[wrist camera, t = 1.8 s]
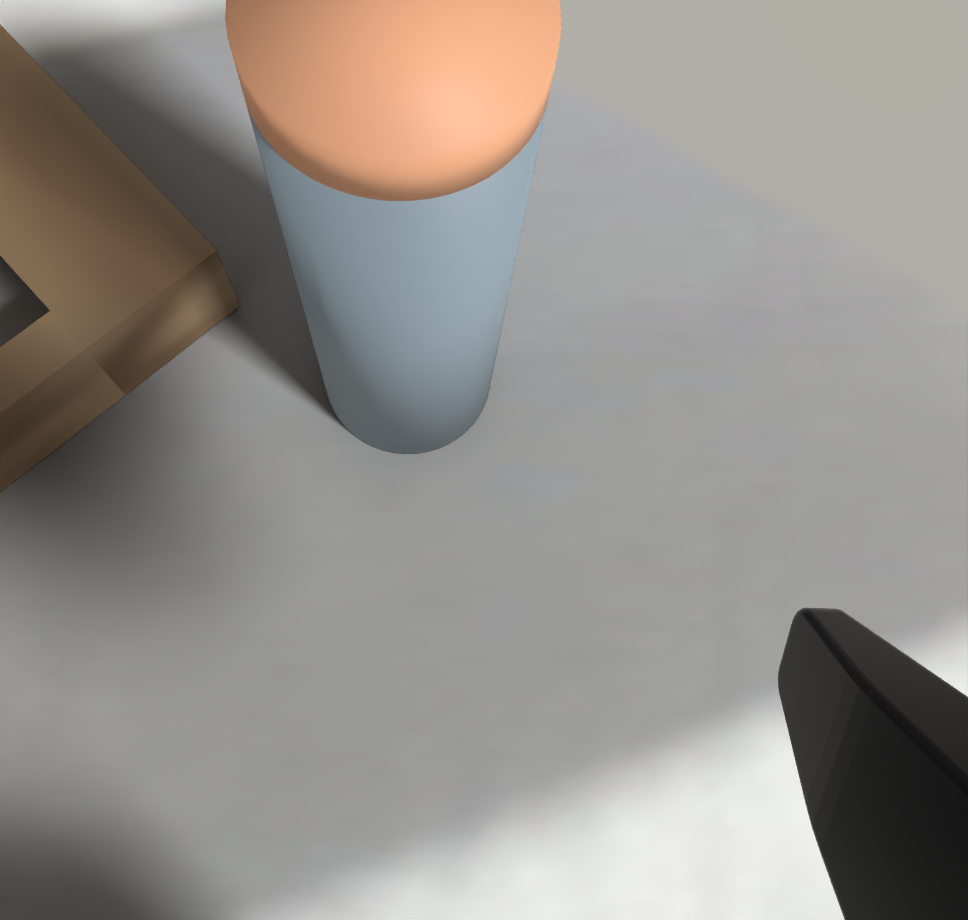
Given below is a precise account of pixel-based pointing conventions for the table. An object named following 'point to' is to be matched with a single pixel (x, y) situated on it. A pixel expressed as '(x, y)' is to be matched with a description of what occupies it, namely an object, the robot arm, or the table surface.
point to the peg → (399, 189)
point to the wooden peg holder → (86, 268)
